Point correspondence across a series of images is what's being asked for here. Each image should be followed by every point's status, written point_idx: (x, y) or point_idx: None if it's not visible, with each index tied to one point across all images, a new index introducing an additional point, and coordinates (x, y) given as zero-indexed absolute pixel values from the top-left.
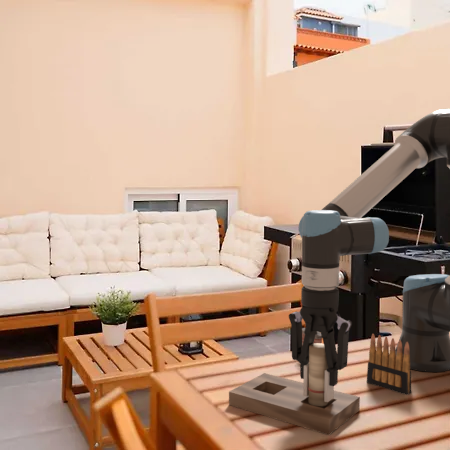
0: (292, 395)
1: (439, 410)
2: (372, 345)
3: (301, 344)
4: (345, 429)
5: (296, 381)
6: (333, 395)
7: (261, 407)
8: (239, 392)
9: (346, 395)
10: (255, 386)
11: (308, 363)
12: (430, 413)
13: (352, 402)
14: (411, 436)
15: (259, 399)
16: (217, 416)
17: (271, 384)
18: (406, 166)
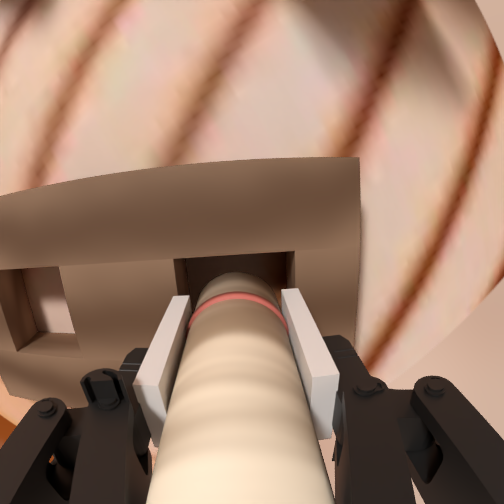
0: (127, 328)
1: (487, 43)
2: None
3: (33, 481)
4: (360, 320)
5: (47, 189)
6: (300, 294)
7: None
8: (23, 388)
9: (305, 178)
10: (7, 330)
11: (142, 406)
12: (485, 70)
13: (359, 232)
14: (496, 238)
15: (87, 405)
16: None
17: (10, 268)
18: None
